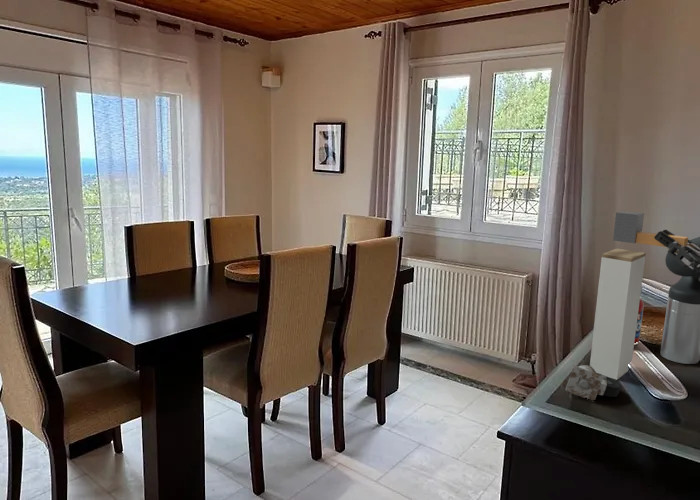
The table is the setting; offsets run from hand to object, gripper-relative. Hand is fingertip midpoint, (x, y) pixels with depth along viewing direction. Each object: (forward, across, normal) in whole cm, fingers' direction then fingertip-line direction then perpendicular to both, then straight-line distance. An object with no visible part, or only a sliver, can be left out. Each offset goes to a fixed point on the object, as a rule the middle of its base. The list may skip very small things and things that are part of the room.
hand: (659, 233), depth 118 cm
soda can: (-8, -24, +40) cm, 47 cm away
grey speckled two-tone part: (-14, +13, +37) cm, 42 cm away
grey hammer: (0, 0, +3) cm, 3 cm away
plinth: (-12, -2, +38) cm, 39 cm away
